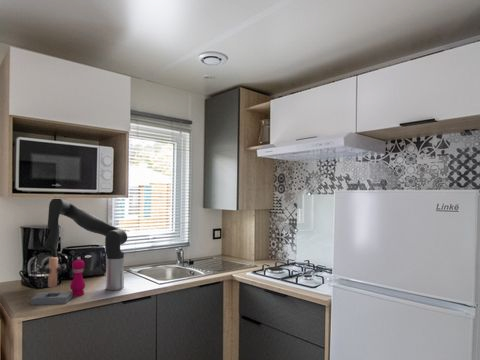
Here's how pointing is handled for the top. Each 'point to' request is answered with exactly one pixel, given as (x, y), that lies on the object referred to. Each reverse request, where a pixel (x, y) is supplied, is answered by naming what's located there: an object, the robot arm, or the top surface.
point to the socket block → (51, 298)
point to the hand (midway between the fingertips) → (53, 271)
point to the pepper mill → (78, 278)
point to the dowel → (53, 272)
